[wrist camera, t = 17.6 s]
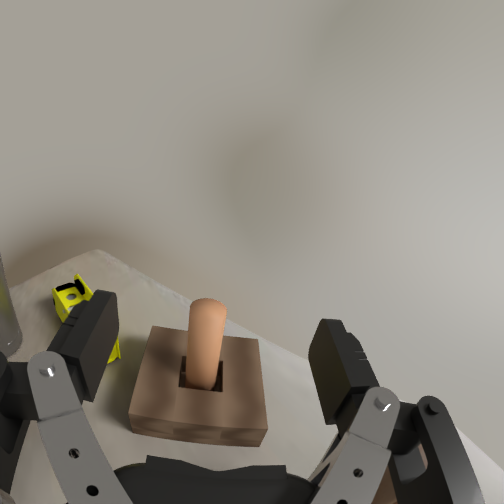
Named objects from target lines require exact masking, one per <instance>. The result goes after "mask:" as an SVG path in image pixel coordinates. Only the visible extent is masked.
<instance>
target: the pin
mask: <svg viewBox="0 0 504 504" xmlns="http://www.w3.org/2000/svg"><path fill="white" fill-rule="evenodd" d="M226 314H227V309H226V307H225V306H224V305H223V304H222V303H221V302H219V301H217V300H214V299H208V298H204V299H198V300H195V301H194V302H192V304H191V305H190V314H189V327H188V342H187V358H186V376H185V388H188V389H196V390H205V391H214V389H215V382H216V376H217V369H218V363H219V357H220V351H221V344H222V338H223V332H224V326H225V320H226Z"/></svg>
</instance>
